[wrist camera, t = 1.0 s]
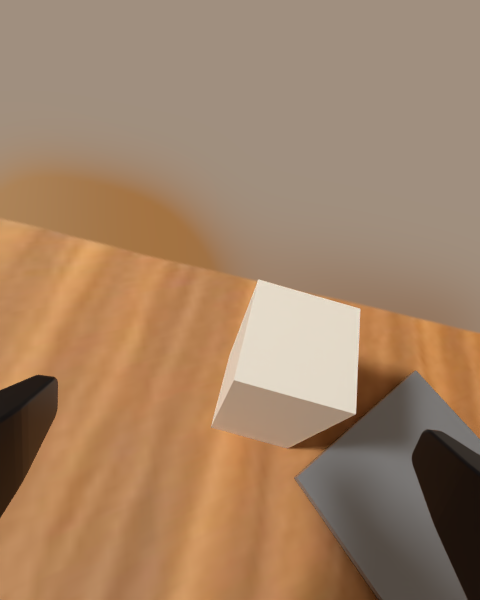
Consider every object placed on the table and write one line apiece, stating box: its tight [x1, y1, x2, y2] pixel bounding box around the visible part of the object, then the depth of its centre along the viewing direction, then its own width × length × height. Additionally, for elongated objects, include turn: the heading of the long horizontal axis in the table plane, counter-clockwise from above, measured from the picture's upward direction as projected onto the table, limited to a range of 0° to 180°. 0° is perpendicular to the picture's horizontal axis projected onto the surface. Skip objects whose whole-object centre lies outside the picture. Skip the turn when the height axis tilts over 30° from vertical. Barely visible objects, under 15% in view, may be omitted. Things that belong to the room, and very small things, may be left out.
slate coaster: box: [294, 371, 480, 600], centre depth 21 cm, size 12×12×1 cm
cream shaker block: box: [211, 280, 360, 448], centre depth 19 cm, size 5×5×10 cm
